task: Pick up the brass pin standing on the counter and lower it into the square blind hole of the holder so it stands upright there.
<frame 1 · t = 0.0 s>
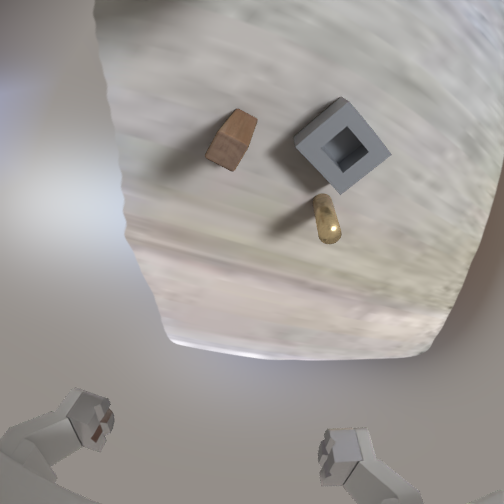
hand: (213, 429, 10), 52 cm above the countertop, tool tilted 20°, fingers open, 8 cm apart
brass pin: (322, 202, 61), on the countertop
hole holder: (338, 139, 52), on the countertop
wooden block: (236, 132, 54), on the countertop
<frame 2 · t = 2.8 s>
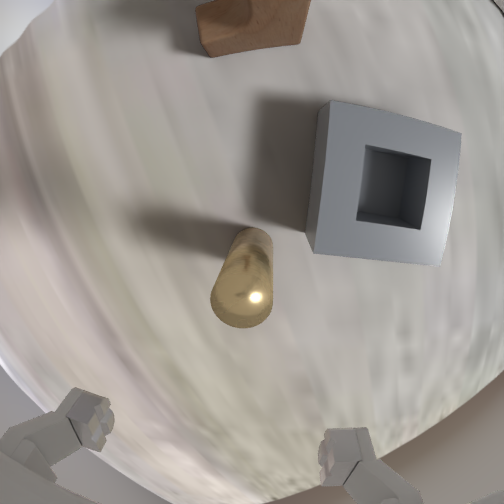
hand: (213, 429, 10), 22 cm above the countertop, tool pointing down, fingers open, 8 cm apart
brass pin: (252, 247, 31), on the countertop
hole holder: (371, 181, 28), on the countertop
wooden block: (251, 33, 24), on the countertop
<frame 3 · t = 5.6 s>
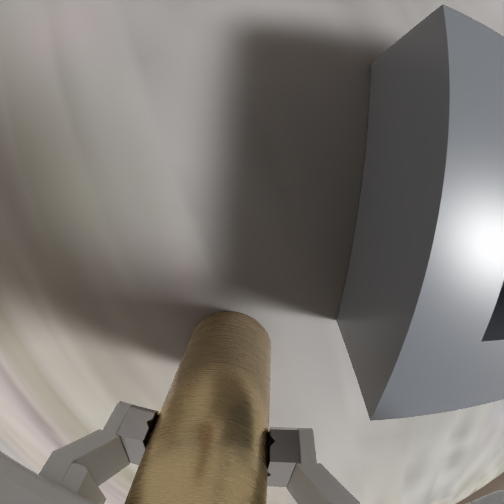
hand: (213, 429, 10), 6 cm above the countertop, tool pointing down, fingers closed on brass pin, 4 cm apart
brass pin: (230, 345, 15), on the countertop, touching gripper
hole holder: (466, 215, 12), on the countertop
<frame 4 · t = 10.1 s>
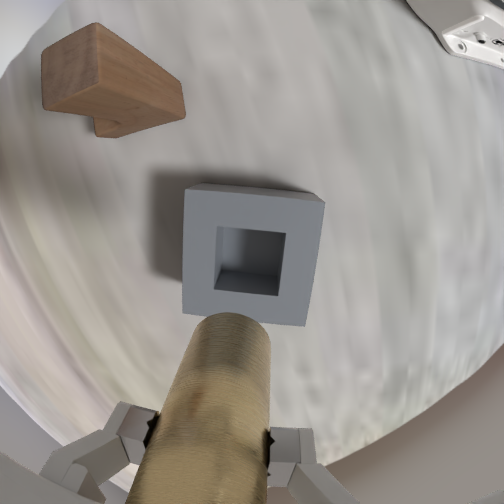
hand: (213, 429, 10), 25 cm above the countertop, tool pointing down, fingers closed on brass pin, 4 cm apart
brass pin: (230, 346, 15), point 19 cm above the countertop, touching gripper
hole holder: (252, 242, 33), on the countertop
wooden block: (146, 110, 30), on the countertop
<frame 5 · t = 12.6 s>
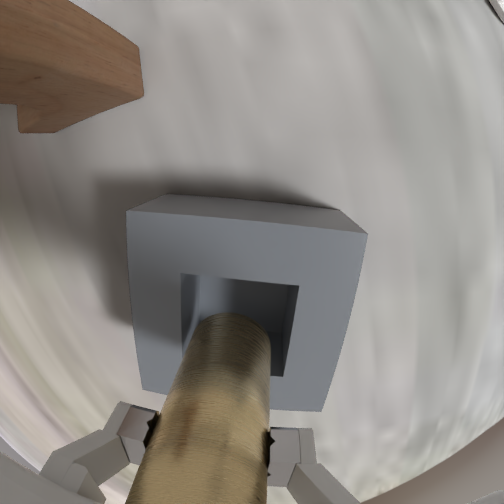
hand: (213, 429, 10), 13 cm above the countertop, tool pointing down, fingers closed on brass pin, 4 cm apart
brass pin: (230, 346, 15), point 8 cm above the countertop, touching gripper
hole holder: (245, 282, 22), on the countertop
wooden block: (93, 90, 19), on the countertop
when the fingers open (9 cm above the countertop, at t = 14.7 s): brass pin drops 1 cm, resting on hole holder.
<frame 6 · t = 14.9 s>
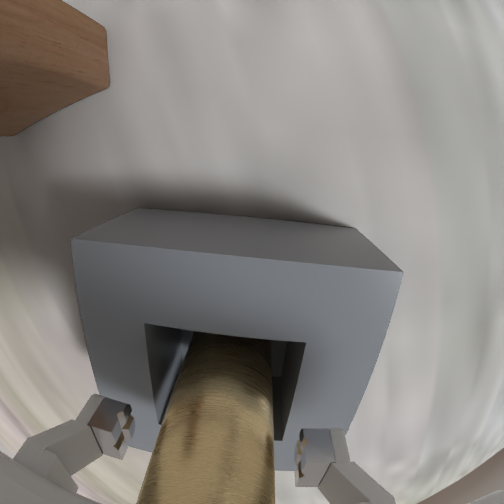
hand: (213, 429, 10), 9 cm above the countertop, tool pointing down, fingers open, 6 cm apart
brass pin: (233, 331, 16), point 2 cm above the countertop, touching hole holder
hole holder: (236, 317, 18), on the countertop
wooden block: (55, 83, 14), on the countertop
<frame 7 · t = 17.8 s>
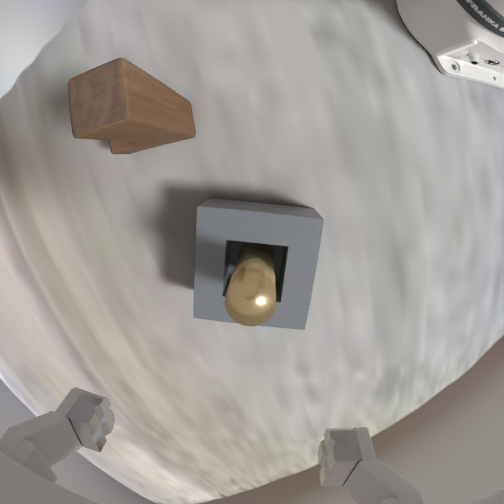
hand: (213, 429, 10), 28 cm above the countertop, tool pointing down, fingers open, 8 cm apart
brass pin: (256, 256, 35), point 2 cm above the countertop, touching hole holder
hole holder: (256, 252, 36), on the countertop
wooden block: (158, 128, 33), on the countertop
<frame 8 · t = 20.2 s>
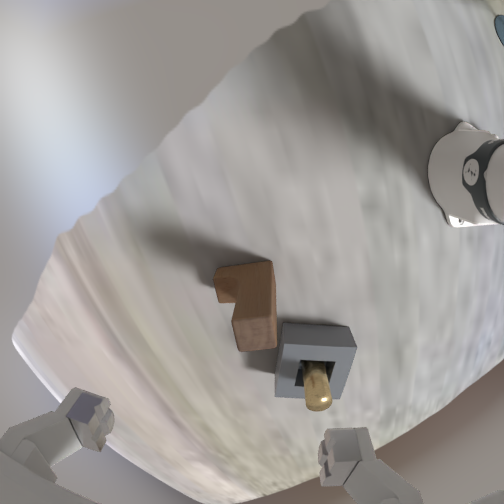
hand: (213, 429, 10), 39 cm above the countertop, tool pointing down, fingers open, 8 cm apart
brass pin: (311, 356, 52), point 2 cm above the countertop, touching hole holder
hole holder: (310, 352, 54), on the countertop
wooden block: (246, 275, 50), on the countertop
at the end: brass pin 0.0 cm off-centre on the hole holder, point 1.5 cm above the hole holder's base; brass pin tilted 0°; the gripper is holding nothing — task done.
